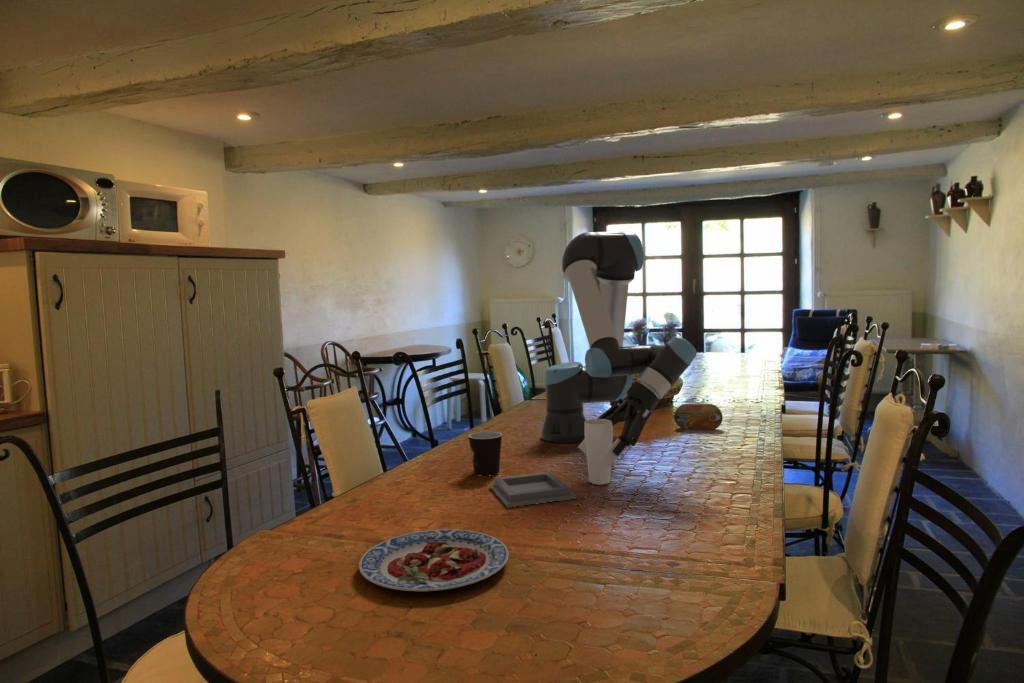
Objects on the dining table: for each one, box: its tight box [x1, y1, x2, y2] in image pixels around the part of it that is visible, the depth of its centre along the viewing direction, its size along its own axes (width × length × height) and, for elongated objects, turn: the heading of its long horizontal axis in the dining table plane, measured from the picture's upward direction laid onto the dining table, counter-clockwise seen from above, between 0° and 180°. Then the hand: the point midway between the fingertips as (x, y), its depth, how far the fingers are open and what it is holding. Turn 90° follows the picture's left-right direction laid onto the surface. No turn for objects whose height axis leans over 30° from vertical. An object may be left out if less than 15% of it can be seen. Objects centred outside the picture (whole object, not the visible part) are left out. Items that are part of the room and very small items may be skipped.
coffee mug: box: [468, 431, 503, 477], centre depth 176 cm, size 12×9×10 cm
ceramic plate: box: [358, 528, 510, 592], centre depth 117 cm, size 26×26×3 cm
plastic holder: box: [489, 471, 577, 508], centre depth 156 cm, size 16×16×2 cm
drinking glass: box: [584, 418, 614, 486], centre depth 162 cm, size 7×7×15 cm
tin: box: [673, 403, 724, 431], centre depth 217 cm, size 15×3×8 cm, turn 73°
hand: (592, 457), depth 162 cm, fingers open, 13 cm apart
